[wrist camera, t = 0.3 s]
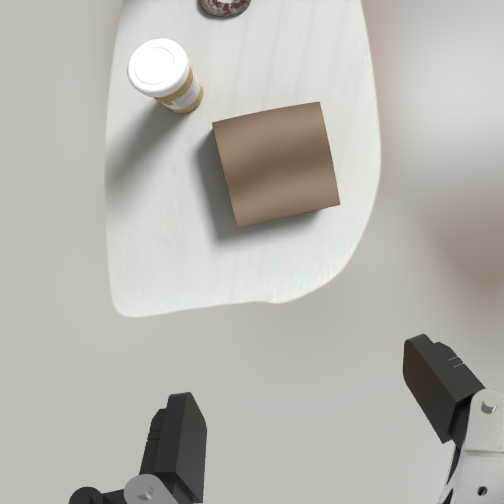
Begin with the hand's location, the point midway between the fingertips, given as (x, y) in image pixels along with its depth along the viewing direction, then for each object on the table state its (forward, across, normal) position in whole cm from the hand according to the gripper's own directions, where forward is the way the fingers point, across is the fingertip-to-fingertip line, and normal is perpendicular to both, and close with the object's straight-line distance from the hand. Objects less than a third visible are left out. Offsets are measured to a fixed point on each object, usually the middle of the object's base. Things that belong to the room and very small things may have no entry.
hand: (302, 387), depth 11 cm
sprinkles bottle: (+28, +4, -16) cm, 32 cm away
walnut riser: (+28, -3, -6) cm, 28 cm away
